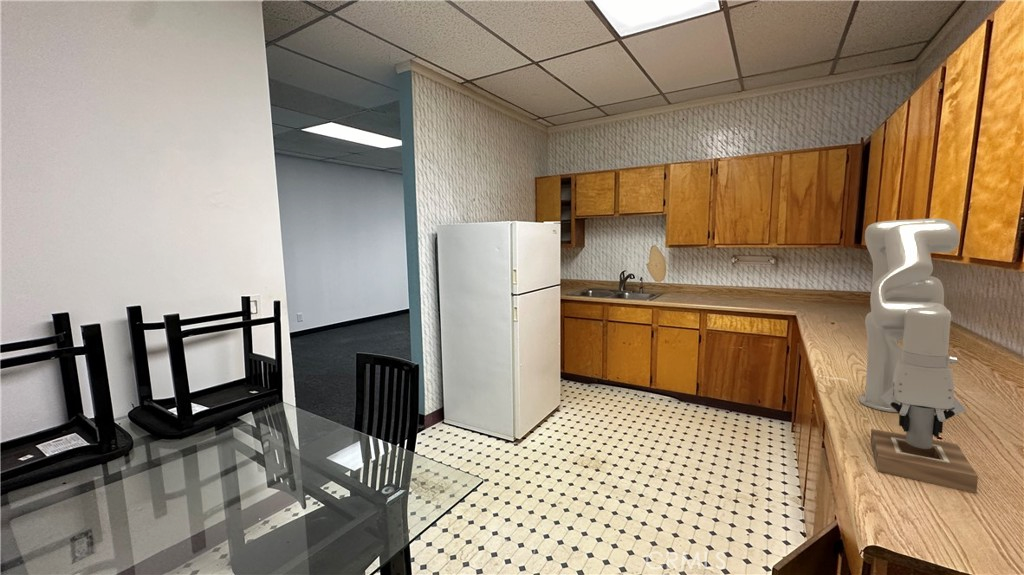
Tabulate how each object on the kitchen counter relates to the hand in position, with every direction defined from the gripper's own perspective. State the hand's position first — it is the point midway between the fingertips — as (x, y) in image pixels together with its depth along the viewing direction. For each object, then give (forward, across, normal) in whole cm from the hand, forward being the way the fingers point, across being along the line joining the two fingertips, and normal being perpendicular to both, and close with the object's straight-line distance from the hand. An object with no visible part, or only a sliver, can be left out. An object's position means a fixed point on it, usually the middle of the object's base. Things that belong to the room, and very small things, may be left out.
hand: (919, 431), depth 98 cm
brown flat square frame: (+9, 0, 0) cm, 9 cm away
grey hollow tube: (+4, 0, 0) cm, 4 cm away
